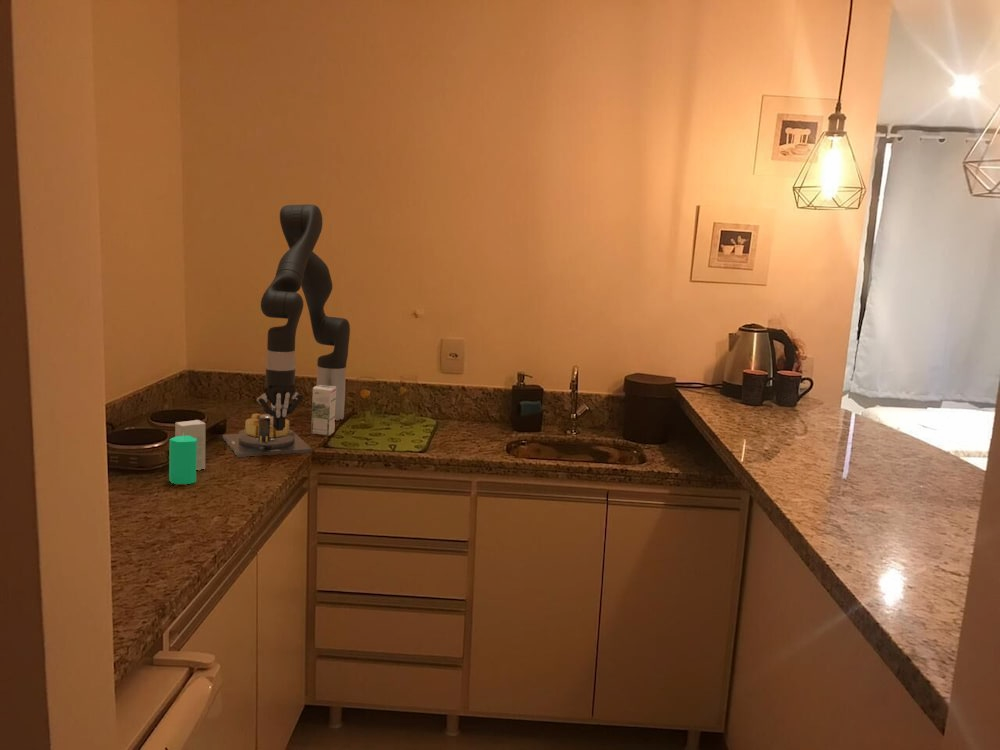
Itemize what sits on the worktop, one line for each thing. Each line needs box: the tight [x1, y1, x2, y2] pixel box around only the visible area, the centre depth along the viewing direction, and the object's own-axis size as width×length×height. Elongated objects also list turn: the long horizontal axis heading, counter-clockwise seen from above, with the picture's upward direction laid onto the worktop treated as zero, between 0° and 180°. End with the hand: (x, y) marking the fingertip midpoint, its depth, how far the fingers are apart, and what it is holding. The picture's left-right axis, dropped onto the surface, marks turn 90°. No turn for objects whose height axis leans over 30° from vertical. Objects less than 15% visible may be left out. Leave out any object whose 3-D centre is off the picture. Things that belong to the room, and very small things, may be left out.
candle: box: [168, 432, 197, 485], centre depth 182 cm, size 6×6×12 cm
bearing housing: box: [222, 413, 313, 458], centre depth 218 cm, size 20×20×8 cm
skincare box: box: [174, 419, 207, 471], centre depth 191 cm, size 6×4×12 cm
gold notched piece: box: [244, 413, 290, 442], centre depth 214 cm, size 19×12×7 cm, turn 12°
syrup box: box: [310, 384, 336, 437], centre depth 234 cm, size 6×6×14 cm
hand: (278, 429), depth 208 cm, fingers closed
